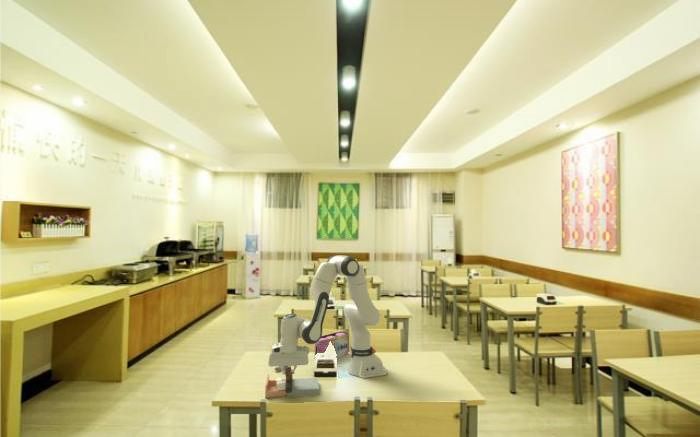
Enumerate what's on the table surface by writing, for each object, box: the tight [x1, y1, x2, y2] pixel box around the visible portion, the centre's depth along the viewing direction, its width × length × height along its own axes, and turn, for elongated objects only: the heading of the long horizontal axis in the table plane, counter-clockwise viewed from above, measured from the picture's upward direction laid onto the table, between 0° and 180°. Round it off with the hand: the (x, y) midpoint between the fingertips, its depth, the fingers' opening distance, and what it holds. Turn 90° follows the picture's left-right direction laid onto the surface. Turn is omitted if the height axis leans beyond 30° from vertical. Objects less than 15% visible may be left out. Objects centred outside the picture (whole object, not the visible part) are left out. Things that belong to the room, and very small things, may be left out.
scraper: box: [284, 366, 294, 394], centre depth 175 cm, size 3×18×8 cm, turn 9°
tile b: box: [277, 380, 286, 391], centre depth 171 cm, size 4×4×3 cm
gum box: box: [313, 330, 349, 360], centre depth 223 cm, size 24×8×14 cm, turn 133°
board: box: [286, 377, 320, 398], centre depth 176 cm, size 16×13×3 cm
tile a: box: [275, 376, 283, 389], centre depth 178 cm, size 4×4×3 cm
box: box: [264, 374, 287, 399], centre depth 174 cm, size 10×13×6 cm
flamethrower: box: [274, 366, 287, 372], centre depth 212 cm, size 29×3×10 cm
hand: (288, 373), depth 175 cm, fingers closed on scraper, 3 cm apart
